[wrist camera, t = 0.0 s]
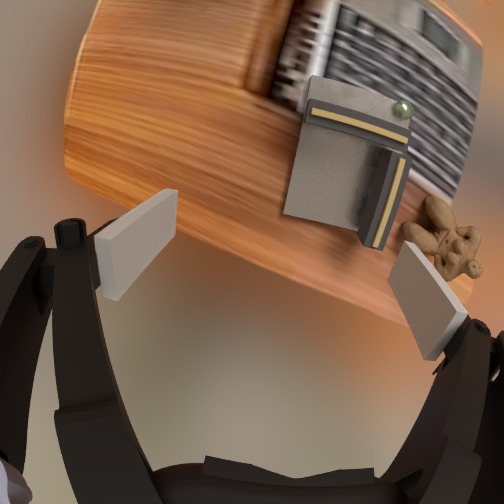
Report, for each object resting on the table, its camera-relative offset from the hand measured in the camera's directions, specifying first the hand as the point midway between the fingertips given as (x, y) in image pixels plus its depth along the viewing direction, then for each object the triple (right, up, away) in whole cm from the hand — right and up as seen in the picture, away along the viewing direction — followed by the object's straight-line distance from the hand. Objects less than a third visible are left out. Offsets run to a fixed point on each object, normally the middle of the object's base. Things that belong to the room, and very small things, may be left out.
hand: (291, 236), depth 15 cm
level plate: (+12, +14, +23) cm, 29 cm away
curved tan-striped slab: (+17, +8, +23) cm, 30 cm away
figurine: (+30, +4, +26) cm, 40 cm away
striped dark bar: (+12, +17, +19) cm, 29 cm away
